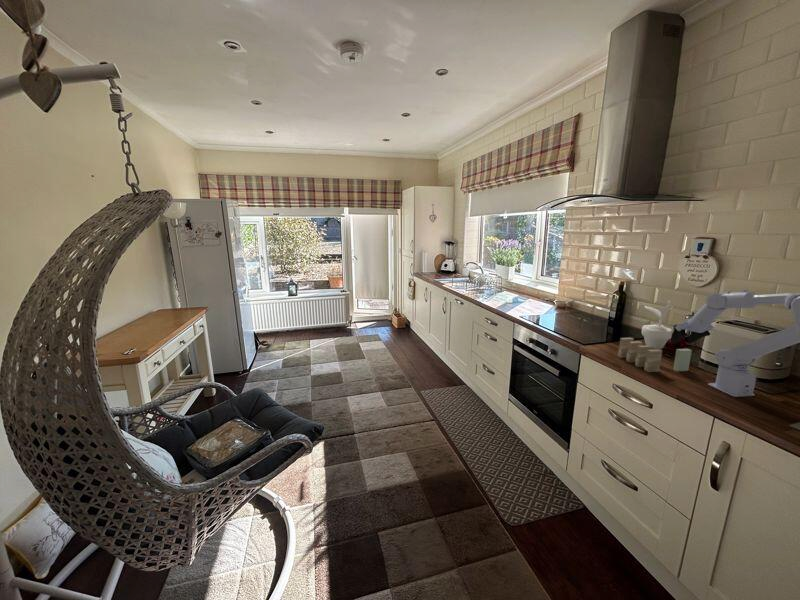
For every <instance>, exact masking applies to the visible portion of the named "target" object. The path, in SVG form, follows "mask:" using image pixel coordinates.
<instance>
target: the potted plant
mask: <svg viewBox="0 0 800 600" xmlns="http://www.w3.org/2000/svg"><path fill="white" fill-rule="evenodd" d="M665 302H667V305H665V306H664V307H662V309H661V310H660V309H656V307H655V308H654V307H651V306H647V305H644V309H646V310H648V311H650V312H651V313H652V314H653V315H654V317H657V318H658V319H659V320H658V323H657V324H655V323H654V324H645V325H642V326H641V327H642V328H641V335H642V336H643V339H644V343H645V345H650V346H652V349H659V350H662V349H663V348H665V345H666V343H668V341H669V340H671V337H672V335H673V329H672V328H670V327H666V326H664V325H663V324H662V323H663V320H664V317H666V316H667V315H669V314H668V313H669V307H671V309H673V308H674V306H673V304H672V301H671V298H668V300H667V301H666V300H665ZM670 303H671V304H670Z"/></svg>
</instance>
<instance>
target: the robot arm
mask: <svg viewBox="0 0 800 600" xmlns="http://www.w3.org/2000/svg"><path fill="white" fill-rule="evenodd" d="M758 305H783V306H784V307H785V308H787V309H788V310H791V314H792V316H793V320H794V325H791V326H789V327H787V328H784V329H782V330H779V331H776V332H774V333H771V334H769V335H766V336H763V337H761V338H759V339H756V340H753V341H751V342H748V343H746V344H743V345H739V346H734V347H731V348H726V349H725V348H722V349H721V348H720V349H718V350H717V351H716V353H715V355H714V358H715V361H716V363H717V365H718V368H717V373H716V374H717V375H716V379H715V382H709V383H708V386H710V387H712V388H714V389H716V390H719V391H720V392H723V393H726V394H727V395H730V396H732V397H734V398H735V397H736V398H737V397H754V396H755V395H756V394H755V393H754V390H755V386H756V383H757V382H756V381H757V377H756V375H755V374H754V373H751V372H750V371H749V370H748V369H749V368H750V365H753V364H754V363H755V362H756V361H757V360H759V359H761V358H762V356H765V355H768V354H771V353H774V352H776V351H780V350H782V349H785V348H787V347H790V346H793V345H796V344H799V343H800V292H787V293H771V294H770V293H769V294H757V293H756V292H753V291H751V290H750V291H749V290H748V289H741V290H740V291H734V292H733V291H731V290H728V291H725V292H714V293H710V294H709V295H707V296H706V298H705V303H704V304H703V305H702V306H701V307H700V308H699V310H698V311H697V312H696V313H695V314H694V315H693V316H692V317H691V318H686V319H685V320H686V321H684V322H682V323H676V324H674V325H673V330H672V336H671V339H670V341H671V342H672V343H673V344H676V343H677V342H679V341H680V340H682V339H683V338H685V337H687V340H688V342H689V343H690V344H691V343H695V342H696V341H698V340H700V339H702V338H705V337H709V336H710V335H711V331H712V330H714V328H715V327H714V325H713V322H714V321H715V320H716V319H718V317H719V316H721V314H722V313H724V312H725V310H727V309H753V308H755V307H757V306H758ZM687 331H690V332H691V333H690V334H688V333H687Z"/></svg>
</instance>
